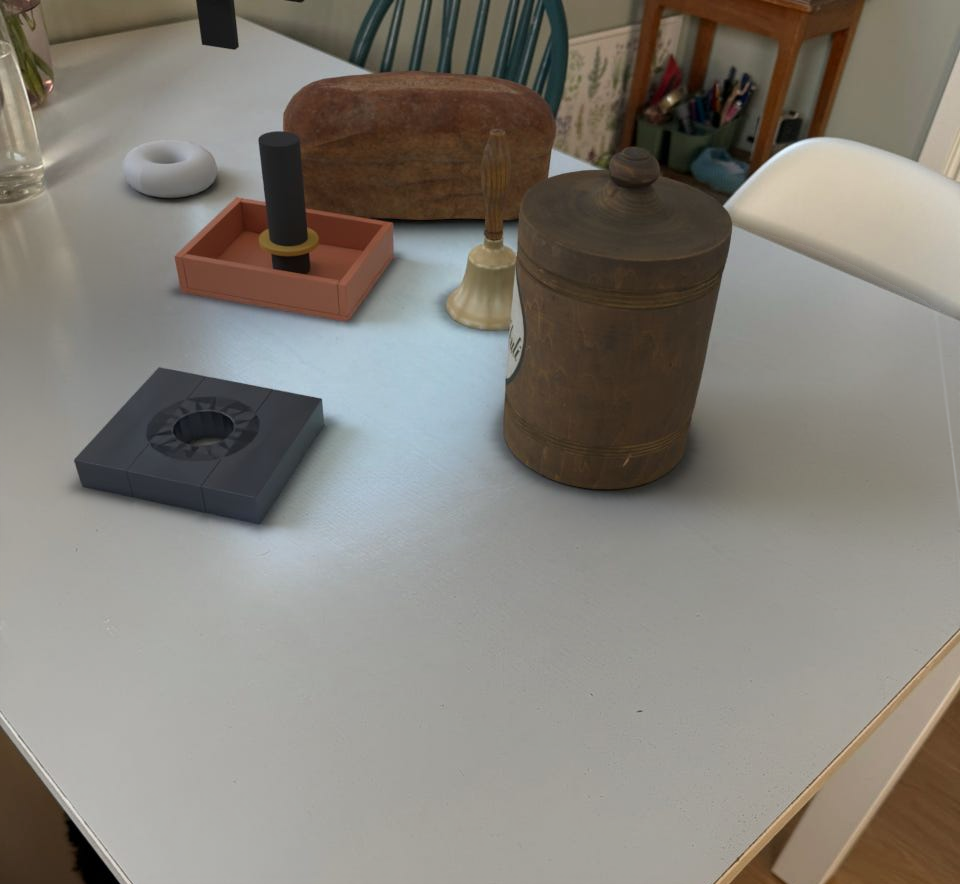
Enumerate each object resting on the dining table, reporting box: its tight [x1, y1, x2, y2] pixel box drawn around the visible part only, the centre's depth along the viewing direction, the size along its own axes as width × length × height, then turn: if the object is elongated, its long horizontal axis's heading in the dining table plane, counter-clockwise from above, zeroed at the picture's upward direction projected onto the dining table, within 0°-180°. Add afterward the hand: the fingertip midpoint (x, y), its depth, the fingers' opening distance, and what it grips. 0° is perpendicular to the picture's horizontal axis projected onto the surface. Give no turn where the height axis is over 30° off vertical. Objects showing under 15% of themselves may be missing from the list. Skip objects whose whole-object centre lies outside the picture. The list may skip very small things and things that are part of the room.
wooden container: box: [502, 146, 733, 490], centre depth 72 cm, size 15×15×22 cm
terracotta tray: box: [173, 196, 395, 323], centre depth 94 cm, size 17×14×4 cm
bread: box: [282, 70, 557, 221], centre depth 103 cm, size 14×28×12 cm, turn 96°
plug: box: [257, 130, 319, 274], centre depth 91 cm, size 6×6×12 cm
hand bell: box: [445, 129, 517, 332], centre depth 87 cm, size 8×8×16 cm
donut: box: [122, 139, 218, 199], centre depth 107 cm, size 10×4×10 cm
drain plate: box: [73, 366, 325, 525], centre depth 75 cm, size 14×13×2 cm
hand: (256, 22), depth 80 cm, fingers open, 13 cm apart
